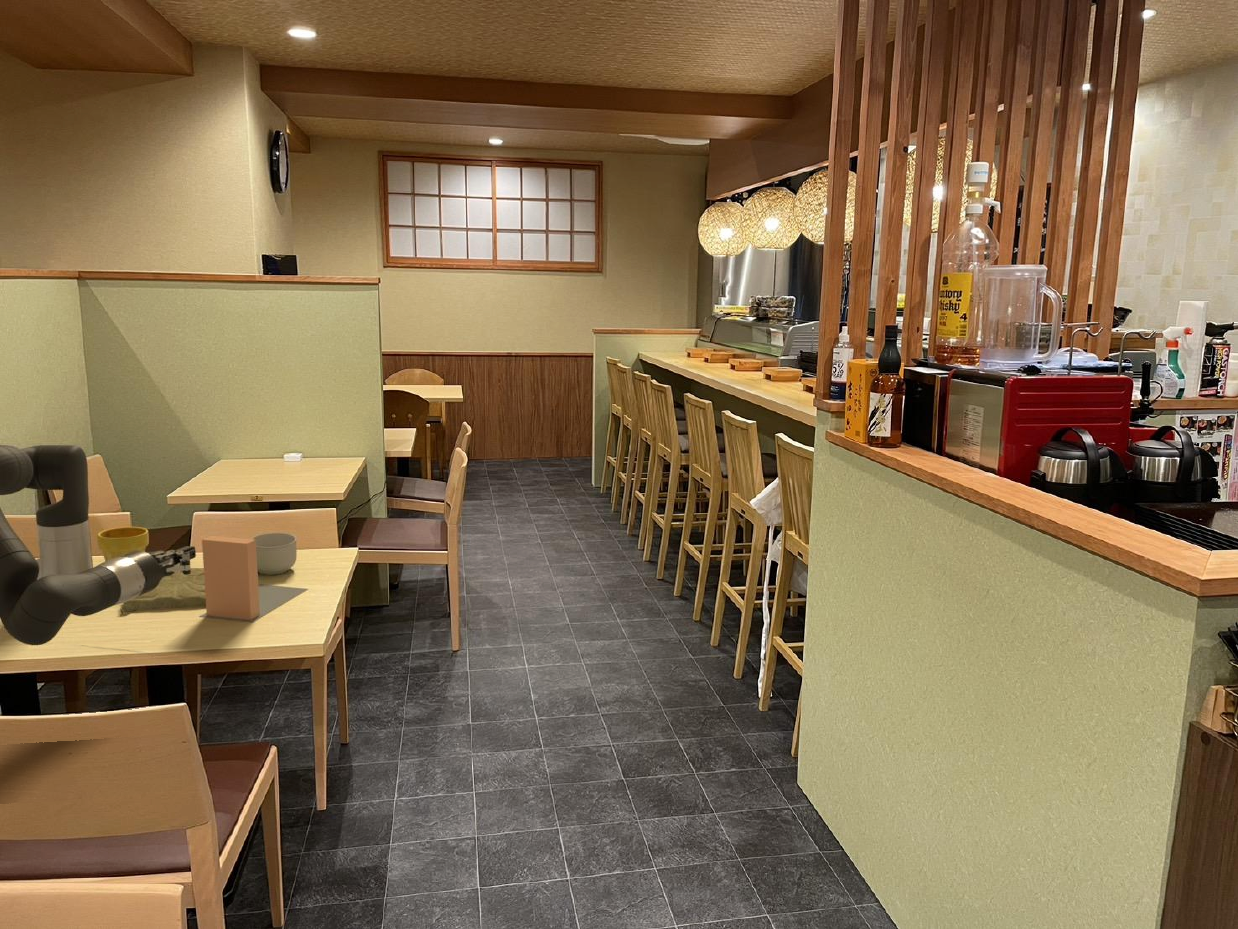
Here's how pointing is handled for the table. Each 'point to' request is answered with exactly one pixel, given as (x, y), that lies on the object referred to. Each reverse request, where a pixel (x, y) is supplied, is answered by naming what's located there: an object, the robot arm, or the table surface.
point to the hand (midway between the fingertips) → (192, 551)
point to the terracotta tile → (231, 577)
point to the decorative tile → (172, 593)
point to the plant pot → (122, 541)
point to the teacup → (275, 552)
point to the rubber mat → (268, 600)
